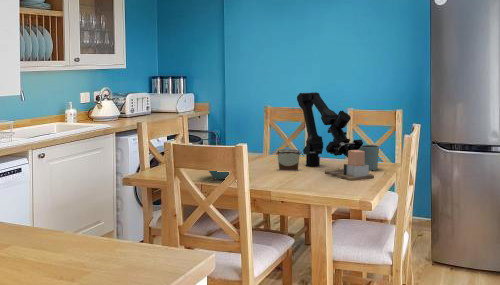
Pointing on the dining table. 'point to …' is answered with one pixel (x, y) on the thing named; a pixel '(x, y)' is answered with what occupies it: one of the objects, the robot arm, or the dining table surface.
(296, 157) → the food container
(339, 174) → the walnut board
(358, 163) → the terracotta peg
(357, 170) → the grey block
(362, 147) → the grey embossed cylinder
